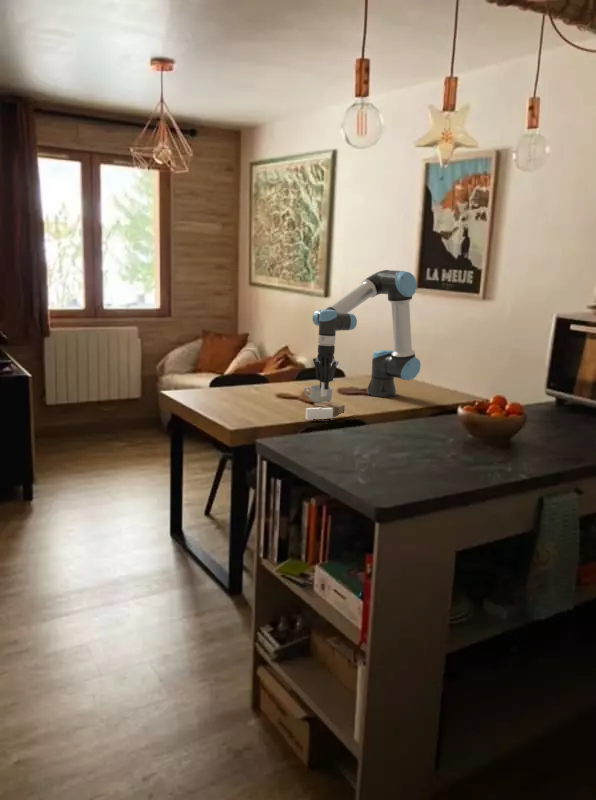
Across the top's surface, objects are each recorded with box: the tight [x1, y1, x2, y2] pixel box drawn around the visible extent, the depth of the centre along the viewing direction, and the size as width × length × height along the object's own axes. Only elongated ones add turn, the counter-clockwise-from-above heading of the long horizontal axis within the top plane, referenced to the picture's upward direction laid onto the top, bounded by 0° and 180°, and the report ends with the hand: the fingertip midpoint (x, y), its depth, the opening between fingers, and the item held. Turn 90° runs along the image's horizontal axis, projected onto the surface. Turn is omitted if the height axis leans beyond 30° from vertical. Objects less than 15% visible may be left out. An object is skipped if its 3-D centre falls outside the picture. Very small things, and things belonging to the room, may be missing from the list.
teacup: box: [303, 384, 334, 404], centre depth 326 cm, size 14×11×8 cm
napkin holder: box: [304, 407, 333, 421], centre depth 295 cm, size 15×11×6 cm
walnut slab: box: [312, 401, 346, 416], centre depth 307 cm, size 9×4×11 cm
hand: (323, 396), depth 307 cm, fingers closed
